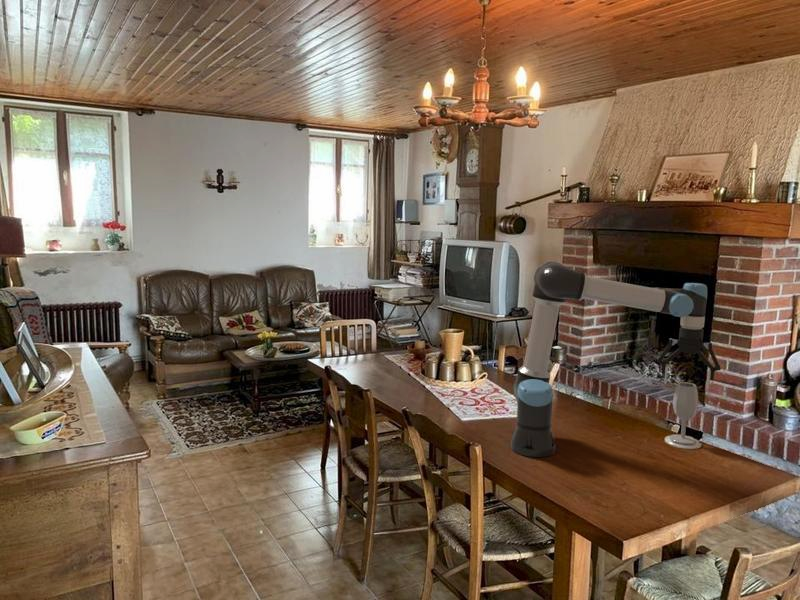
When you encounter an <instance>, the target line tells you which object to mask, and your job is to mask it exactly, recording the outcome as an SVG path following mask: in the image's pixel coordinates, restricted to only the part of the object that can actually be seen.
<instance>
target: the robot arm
mask: <svg viewBox="0 0 800 600" xmlns="http://www.w3.org/2000/svg"><path fill="white" fill-rule="evenodd" d="M533 281H534V285H533V291H532V298H533V300H534V302H535V304H534V310H533V314H532V320H531V323H530V324H531V325H530V330H529V334H528V335H529V336H528V340H527V344H526V349H525V350H526V351H525V356H524V360H523V365H521V367H519V368H518V369H517V370H518V371H517V376H516V378H515V380H514V383H513V388H512V391H513V395H514V397H515V401H516V406H517V408H516V427H515V429H514V432H513V435H512V438H511V441H510V449H511V450H512V451H513V452H515V453H516V454H518V455H522V456H526V457H530V458H546V457H550V456H552V455H554V454H556V443H555V439H554V436H553V432H552V413H553V412H552V411H553V397H554V393H553V387H552V385H551V384H550V379H551V374H550V373H549V371H548V367H549V363H550V357H551V352H552V348H553V342H554V338H555V333H556V327H557V321H558V318H559V317H558V316H559V311H560V307H561V306H562V305H564V304H565V303H566V300H573V301H577V302H580V301H581V300H590V301H595V302H601V303H606V304H612V305H618V306H624V307H630V308H635V309H639V310H640V309H641V310H646V311H651V312H656V313H657V312H658V313H662V314H667V315H672V316H673V317H678V318H680V322H679V323H680V324H679V325H680V327H679V333H678V339H673V338H672V337H670V338H669V340H668V343H667V346H666V347H665V348H664V350H663V351H662V352H661V354H660V356H659V357H658V358H657V360H656V363H657V364H660V365H661V375H664V379H663V384H664V385H667V383H668V382H667V380H668V371H669V370H668V369H669V363H670V362H671V361H673V360H674V358H676V357H677V356H678V355H680V354H681V353H684V354H691V355H696V354H697V355H698V357H700V358H701V360H702V361H703V363H704V364H705V365H706V367H707V368H708V369H707V374H706V375H707V376H706V377H707V378H706V387H705V390H706V391H709V390H710V382H711V381H714V379H715V372H716V371H720V370H721V366H720V363H719V360H718V359H717V356H716V354H715V352H714V350H713V343H712V342H711V341H710V342H703V341H704V340H703V339H704V327H705V320H706V318H705V317H706V308H707V301H708V300H707V299H708V287H707V284H704V283H699V282H685V283H684V284H683V287H682V288H668V287H667V288H666V287H649V286H644V285H637V284H632V283H626V282H621V281H615V280H610V279H604V278H599V277H593V276H589V275H587V274H586V272H582V271H579V270H574V269H571V268H569V267H567V266H565V265H563V264H561V263H560V262H557V261H547V262H545V263H543V264H541V265H540V266H538V267H537V269H536V270H535V272H534V276H533ZM675 344H677V346H678V348H677V349H676V350H674V352H672V353H671V354H670V355H669V356H668V357H666V355H667V354H668V352H669V351H670V349H671V348H672V346H675ZM703 347H704V348H705V349H706V350H707V351H708V353H709V355H710V357H711V359H712V361H713V364H714V366H713V364H712V363H711V362H710V360H709V359H708V358H707V356H706V355H705V354H704V353H703V351H702V350H701V349H703ZM665 357H666V358H665ZM664 358H665V359H664Z"/></svg>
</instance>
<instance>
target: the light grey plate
mask: <svg viewBox="0 0 800 600" xmlns="http://www.w3.org/2000/svg"><path fill="white" fill-rule="evenodd" d="M670 436H671V435H667V436H665V437H664V442H665V443H666V444H667V445H668V446H669V445H670V446H671V447H674V448H679V449H683V450H697V449H701V447H702V442H701V441H700V440H698V439H696V438H694V439H695V440H696V443H694V444H693V445H685V444H679V443H675V442H672V440H671V439H670V438H669V437H670ZM699 442H701V443H699Z"/></svg>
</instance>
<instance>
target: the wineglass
mask: <svg viewBox="0 0 800 600" xmlns="http://www.w3.org/2000/svg"><path fill="white" fill-rule="evenodd" d="M697 387H698V386H697V385H696V384H695V383H691V382H686V381H685V382H684V381H681V382H678V383H677V384H676V387H675V390H674V395H673V399H672V400H673V401H672V408H673V413H674V415H676V416H677V418H679V420H680V421H681V431H680V434H671V435H669V436H670V437H669V438H670V439H671V440H672V442H675V443H679V444H685V445H693V444H694V443H696V440H697V439H696V438H694V437H693V436H690V435H686V429H687V422H688V421H689V420H691V419H693V418H694V417H695V416H696V414H697V412H698V409H699V391H698V388H697ZM695 439H696V440H695Z"/></svg>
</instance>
